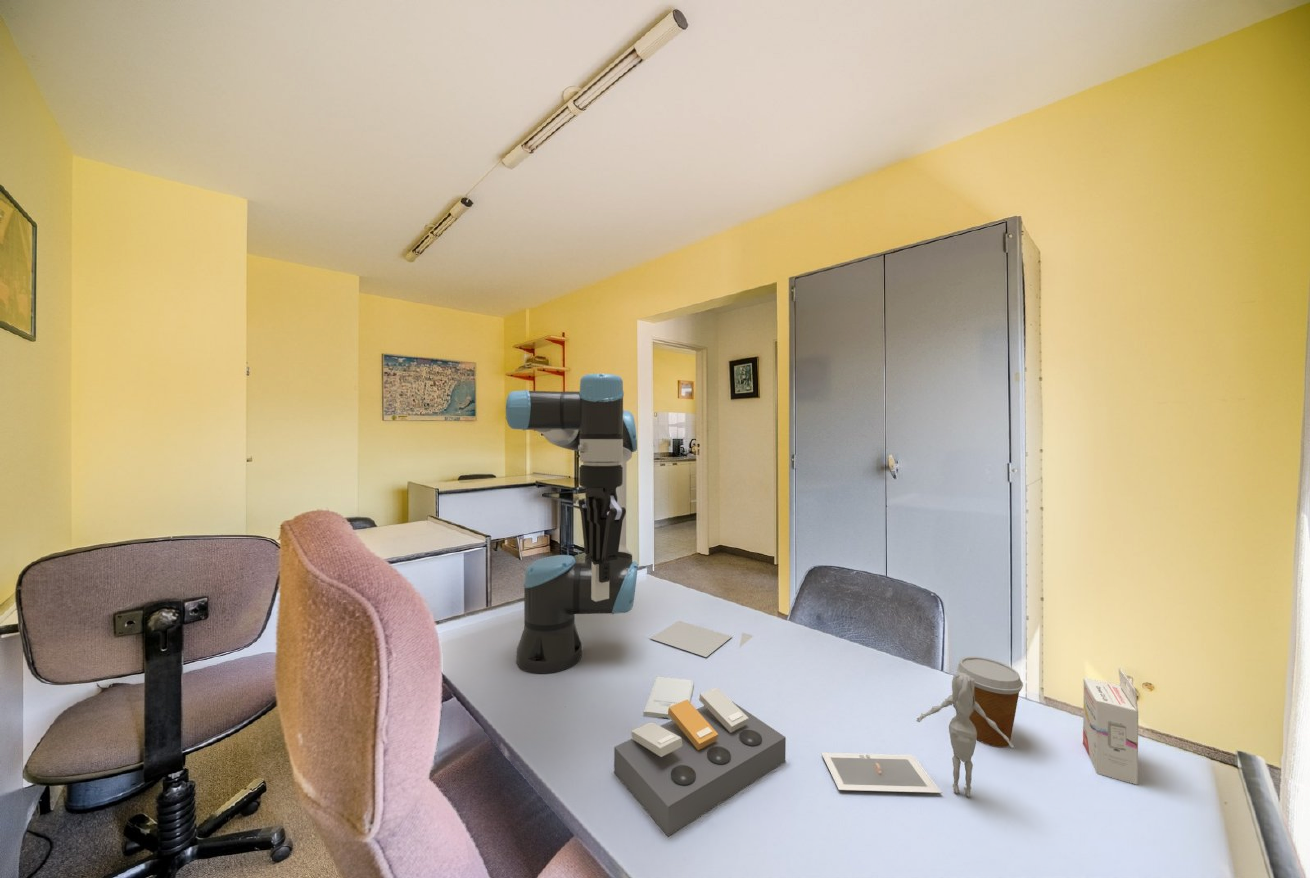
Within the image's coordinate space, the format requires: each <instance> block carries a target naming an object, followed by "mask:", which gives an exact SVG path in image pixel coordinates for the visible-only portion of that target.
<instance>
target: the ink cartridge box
mask: <svg viewBox="0 0 1310 878" xmlns="http://www.w3.org/2000/svg"><path fill="white" fill-rule="evenodd" d="M1118 677H1119V678H1118V679H1119V684H1116V683H1111V682H1106V681H1102V680H1097V679H1092V678H1089V677H1083V708H1082V710H1083V712H1082V714H1083V715H1082V717H1083V719H1082V720H1083V722H1082V723H1083V725H1082V744H1083V746H1084V748H1085V751H1086V753H1087V755H1088V757H1089V760H1090V762H1091V764H1092V766H1093V768H1094V772H1095V774H1097V775H1101V776H1105V777H1108V778H1111V777H1112V778H1111V779H1115V780H1118V779H1119V780H1118V781H1122V782H1126V783H1129V782H1130V783H1129V784H1132V783H1133V785H1137V786H1138V784H1139V783H1138V782H1139V779H1138V778H1139V774H1138V773H1139V707H1138V706H1139V705H1138V699H1137V690H1136V688H1135V687H1134V685H1133V684H1132V682H1131V681H1130V679H1128V676H1126V674H1125V673H1124V672H1123V670H1122V669H1121V668H1120V667H1119V668H1118Z"/></svg>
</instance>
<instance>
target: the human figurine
mask: <svg viewBox="0 0 1310 878" xmlns="http://www.w3.org/2000/svg"><path fill="white" fill-rule="evenodd" d="M951 692H952V694H951V695H949V696H948V697H947V698H945V699H944V701H942V703H941V704H940V705H936V706H932V708H931V709H930V710H928V711H927V712H925V713H921V714H920V716H919V717H917V718H916V720H915V721H916V722H917V723H920V722H921V721H922V720H923V719H925V718H926V717H928V716H930V715H933V714H936V713H939V712H940V711H941V710H942V709H943V708H947V707H949V706H952V707H953V708H954V710H955V715H954V717H952V718H951V720H950V722H949V725H948V733H949V738H950V744H951V748H952V751H953V755H952V759H951V760H952V767H953V772H952V776H953V782H954V783H952V788H953V792H954V793H955V794H960V788H959V780H960V777H961V776H960V770H961V763H964V769H965V786H964V787H963V790H964V791H963V792H964V796H966V797H967V798H971V795H972V794H971V792H972V791H971V790H972V786H971V785H972V777H973V776H972V772H973V767H974V766H973V765H974V764H973V762H972V757H973V755H974V753H975V749H976V745H977V741H978V740H977V737H978V735H977V731H976V728H975V726H974V724H973V723H972V722H971V720H970V719H969V716H970V715H971V713H972V712H973V708H974V709H975V710H976V711H977V712H978V713H979V714H980V715H981V716H982V717H984V718H985V719H986V721H987V722H988V723H989V725H990V726H991V727H992V728H994V729H995V730H996V731H997V732H998V733H999V734H1001V735H1002V736H1003V737H1004V739H1005V740H1006V741H1007V742H1008V743H1009V745H1008V746H1010V747H1011V748H1012V749H1013V748H1015V746H1014V744H1013V743H1012V742H1011V741H1009V738H1008V737H1007V736H1006V735H1004V734H1003V733H1002V732H1001V731H1000V730H999V729H998V727H997V725H996V723H995V722H993V721H992V720H990V719H989V718H987V717H986V715H985V713H984V711H983V710H982V709H981V707H980V705H979V704H978V703H977V702H976V701H975V697H974V679H973V678H971V677H970V676H968V675H967V674H965V673H961V672H958V671H957V673H955V674H953V677H952V680H951Z"/></svg>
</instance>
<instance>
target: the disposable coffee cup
mask: <svg viewBox="0 0 1310 878" xmlns="http://www.w3.org/2000/svg"><path fill="white" fill-rule="evenodd" d="M956 671H957V673H958V672H961V673H965V674H967V675H968V676H970V677H971V678H973V679H974V697H975V701H976V702H977V703H978V704H979V705H980V707H981V709H982V710H983V711H984V713H985V715H986V717H987V718H989V719H990V720H992V721H993V722H995V723H996V725H997V727H998V729H999V730H1000V731H1001V732H1002V733H1003V734H1004V735H1006V736H1007V737H1008V738H1009V741H1010V742H1011V741H1012V735H1013V734H1012V733H1013V730H1014V729H1013V728H1014V723H1015V717H1016V713H1017V706H1018V701H1019V696H1020V692H1021V690H1022V689H1023V687H1024V682H1023V681H1022V680H1021V677H1020V673H1019V672H1017V670H1016V669H1014V668H1013V667H1011V666H1010V665H1007V664H1005V663H1002V662H1000V661H997V660H995V659H994V660H993V659H990V658H988V657H987V658H986V657H981V656H965V657H962V658H960V660H959V663H958V664H957V665H956ZM969 719H970V720H971V722H972V723H973V724H974V726H975V728H976V731H977V735H978V737H977V740H976V741H979V742H980V743H983V744H986V745H988V746H993V747H997V748H1005V747H1008V746H1010V745H1009V743H1008V742H1007V741H1006V740H1005V739H1004V737H1003V736H1002V735H1001V734H999V733H998V732H997V731H996V730H995V729H994V728H992V727H991V726H990V725H989V723H988V722H987V721H986V719H985V718H984V717H982V716H981V715H980V714H979V713H978V712H977V711H976V710H975V709H974V708H973V712H972V713H971V715H970V716H969Z"/></svg>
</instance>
